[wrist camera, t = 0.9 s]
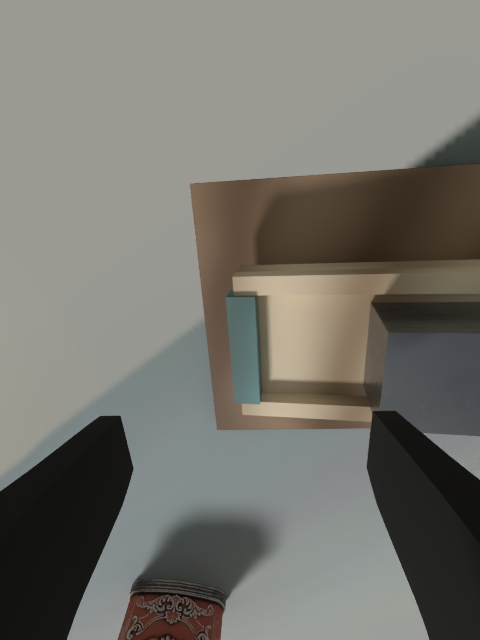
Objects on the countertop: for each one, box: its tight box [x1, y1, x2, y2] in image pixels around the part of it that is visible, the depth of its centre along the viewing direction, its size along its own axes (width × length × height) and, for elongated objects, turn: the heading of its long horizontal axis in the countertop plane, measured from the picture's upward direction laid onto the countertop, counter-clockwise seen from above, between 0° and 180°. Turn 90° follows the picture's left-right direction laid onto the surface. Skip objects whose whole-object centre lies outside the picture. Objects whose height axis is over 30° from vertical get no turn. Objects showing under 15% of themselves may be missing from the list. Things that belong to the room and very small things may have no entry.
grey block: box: [363, 302, 480, 436], centre depth 13 cm, size 5×4×3 cm
